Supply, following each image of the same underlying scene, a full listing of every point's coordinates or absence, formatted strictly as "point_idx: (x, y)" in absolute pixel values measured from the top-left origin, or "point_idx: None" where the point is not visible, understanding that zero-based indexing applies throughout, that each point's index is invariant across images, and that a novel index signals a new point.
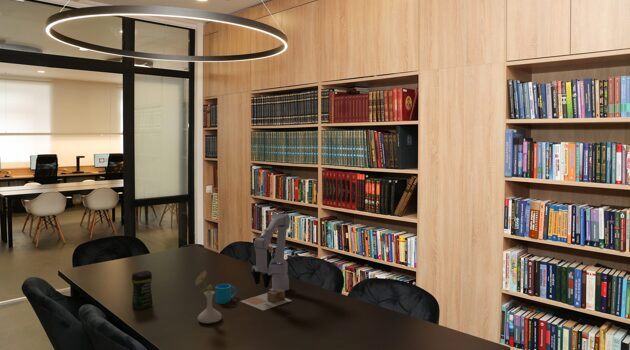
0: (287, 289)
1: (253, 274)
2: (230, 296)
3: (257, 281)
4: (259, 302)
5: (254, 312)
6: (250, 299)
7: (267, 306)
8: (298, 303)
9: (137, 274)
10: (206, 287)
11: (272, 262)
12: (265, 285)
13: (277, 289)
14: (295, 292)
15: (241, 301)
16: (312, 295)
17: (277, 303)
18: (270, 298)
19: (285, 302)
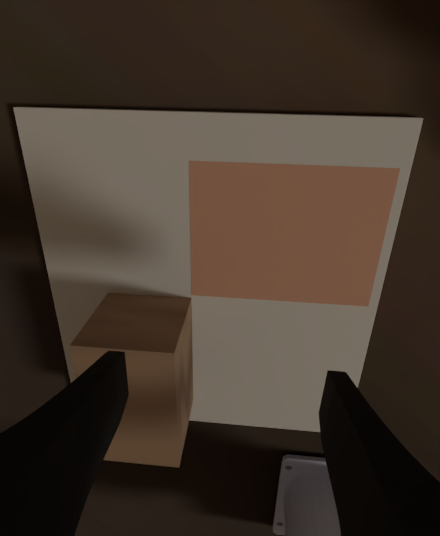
0: (275, 519)
1: (429, 526)
2: None
3: (332, 422)
4: (219, 232)
5: (50, 17)
6: (358, 231)
7: (80, 211)
8: (23, 402)
9: None
10: None
11: None
12: (88, 374)
13: (166, 448)
14: (207, 511)
15: (403, 123)
16: (93, 519)
17: (90, 312)
18: (139, 315)
19: (69, 360)
